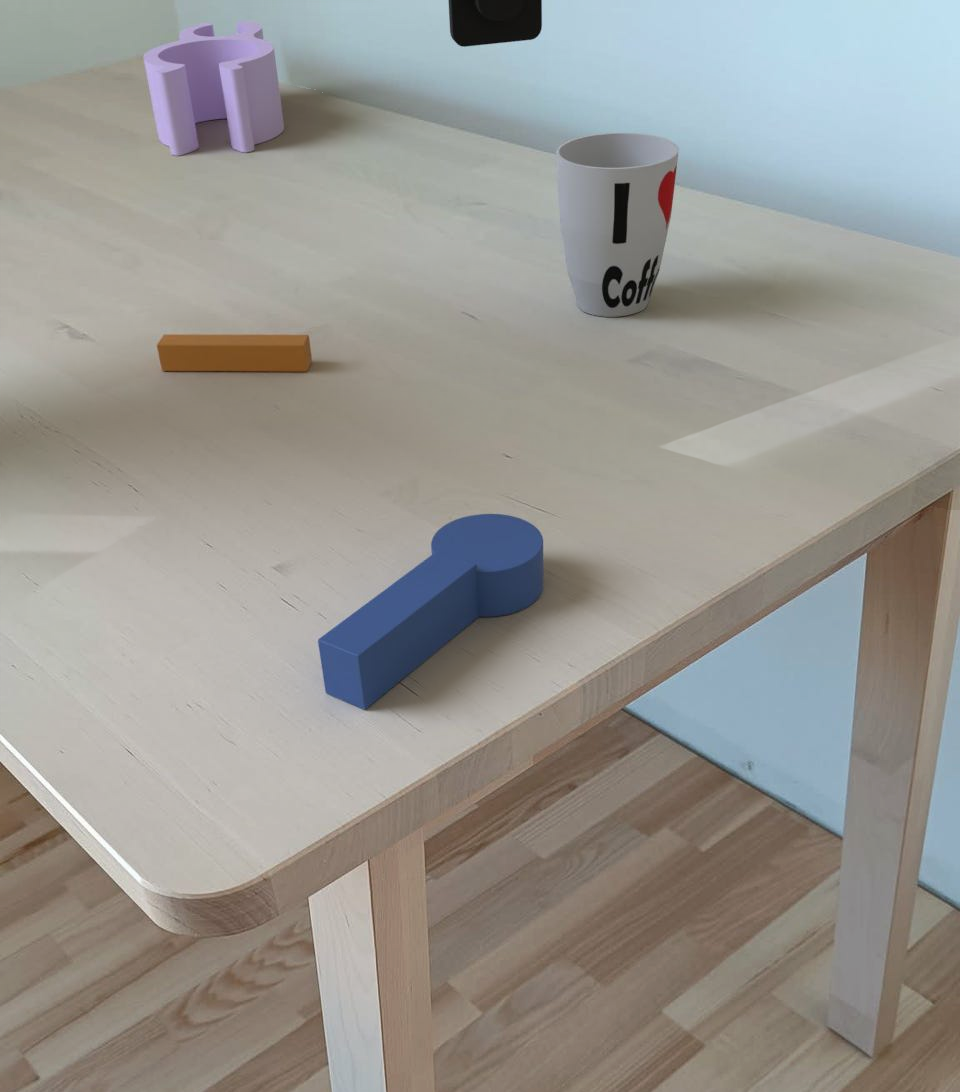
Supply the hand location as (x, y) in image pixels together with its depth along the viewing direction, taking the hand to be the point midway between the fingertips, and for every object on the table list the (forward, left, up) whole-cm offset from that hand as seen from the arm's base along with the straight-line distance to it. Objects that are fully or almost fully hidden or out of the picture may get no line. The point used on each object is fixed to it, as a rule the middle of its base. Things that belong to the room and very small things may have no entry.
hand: (467, 13), depth 48 cm
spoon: (-2, -5, -25) cm, 25 cm away
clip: (-34, +84, -25) cm, 94 cm away
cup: (+6, +37, -25) cm, 45 cm away
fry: (-19, +26, -25) cm, 41 cm away
